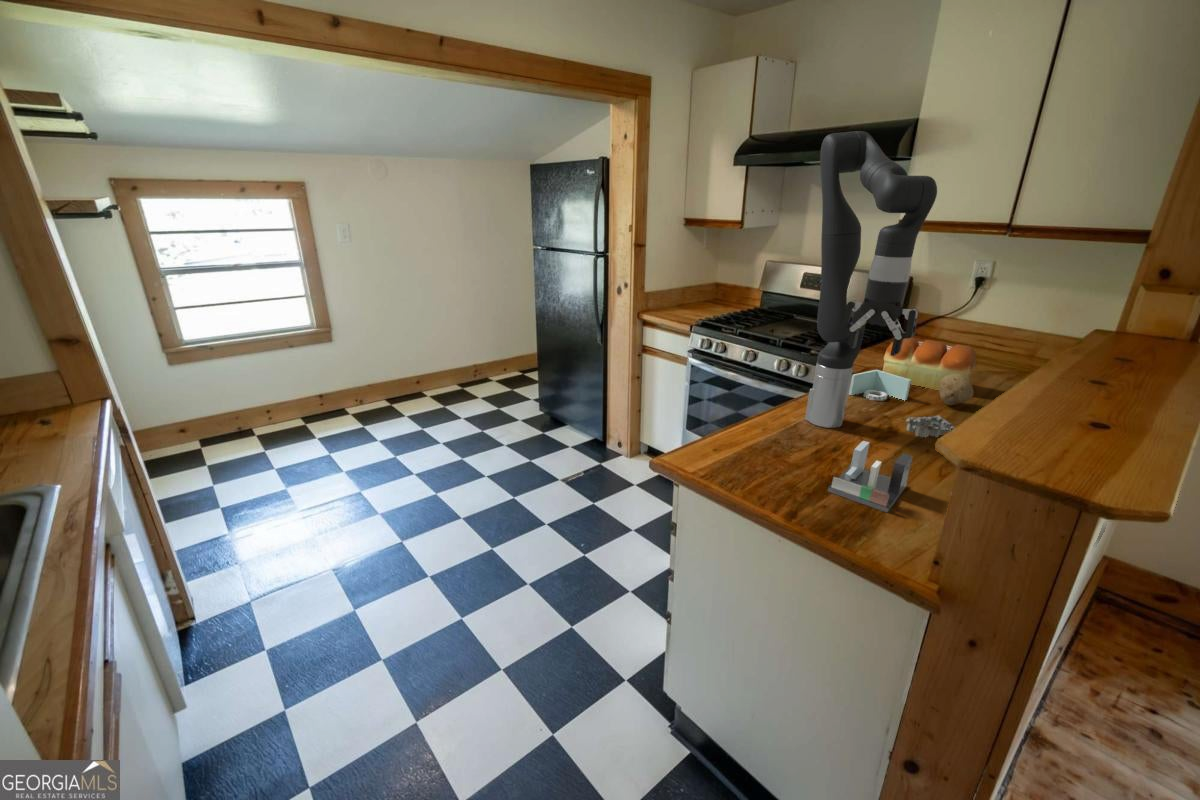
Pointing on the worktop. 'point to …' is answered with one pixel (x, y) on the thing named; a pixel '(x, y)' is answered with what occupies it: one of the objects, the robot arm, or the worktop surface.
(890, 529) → the worktop surface
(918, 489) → the worktop surface
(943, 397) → the natural sponge
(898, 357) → the bread
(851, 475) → the block
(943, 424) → the jagged gray rock
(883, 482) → the stand
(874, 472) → the bar
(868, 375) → the l-shaped corner panel
